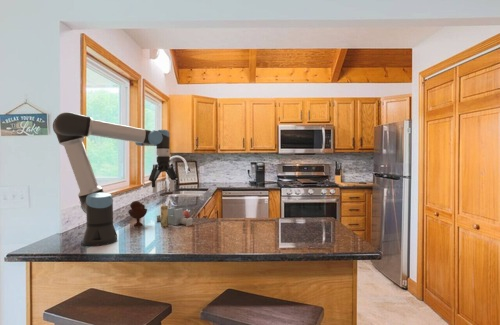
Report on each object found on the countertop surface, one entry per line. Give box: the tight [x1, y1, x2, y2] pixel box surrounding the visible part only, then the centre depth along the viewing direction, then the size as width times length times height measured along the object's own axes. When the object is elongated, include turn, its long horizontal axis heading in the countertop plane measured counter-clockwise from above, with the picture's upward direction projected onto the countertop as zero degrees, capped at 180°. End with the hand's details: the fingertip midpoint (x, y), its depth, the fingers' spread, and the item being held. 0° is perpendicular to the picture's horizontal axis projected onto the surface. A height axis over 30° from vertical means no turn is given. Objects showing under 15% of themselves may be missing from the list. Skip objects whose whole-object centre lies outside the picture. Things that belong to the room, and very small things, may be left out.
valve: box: [156, 206, 194, 227], centre depth 192 cm, size 15×26×9 cm, turn 59°
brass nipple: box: [160, 205, 169, 228], centre depth 181 cm, size 4×4×12 cm
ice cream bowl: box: [127, 200, 148, 227], centre depth 184 cm, size 11×11×15 cm
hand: (163, 191), depth 181 cm, fingers open, 13 cm apart
